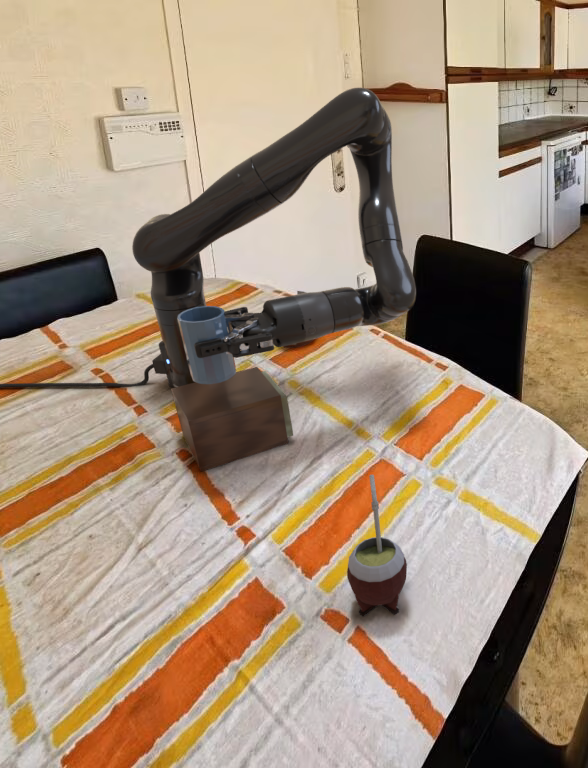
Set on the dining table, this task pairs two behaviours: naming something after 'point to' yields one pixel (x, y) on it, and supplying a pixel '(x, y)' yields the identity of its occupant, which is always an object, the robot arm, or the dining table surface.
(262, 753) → the dining table surface
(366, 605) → the mate gourd
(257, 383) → the cabinet
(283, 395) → the drawer
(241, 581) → the dining table surface
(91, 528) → the dining table surface
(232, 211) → the robot arm
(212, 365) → the cup
